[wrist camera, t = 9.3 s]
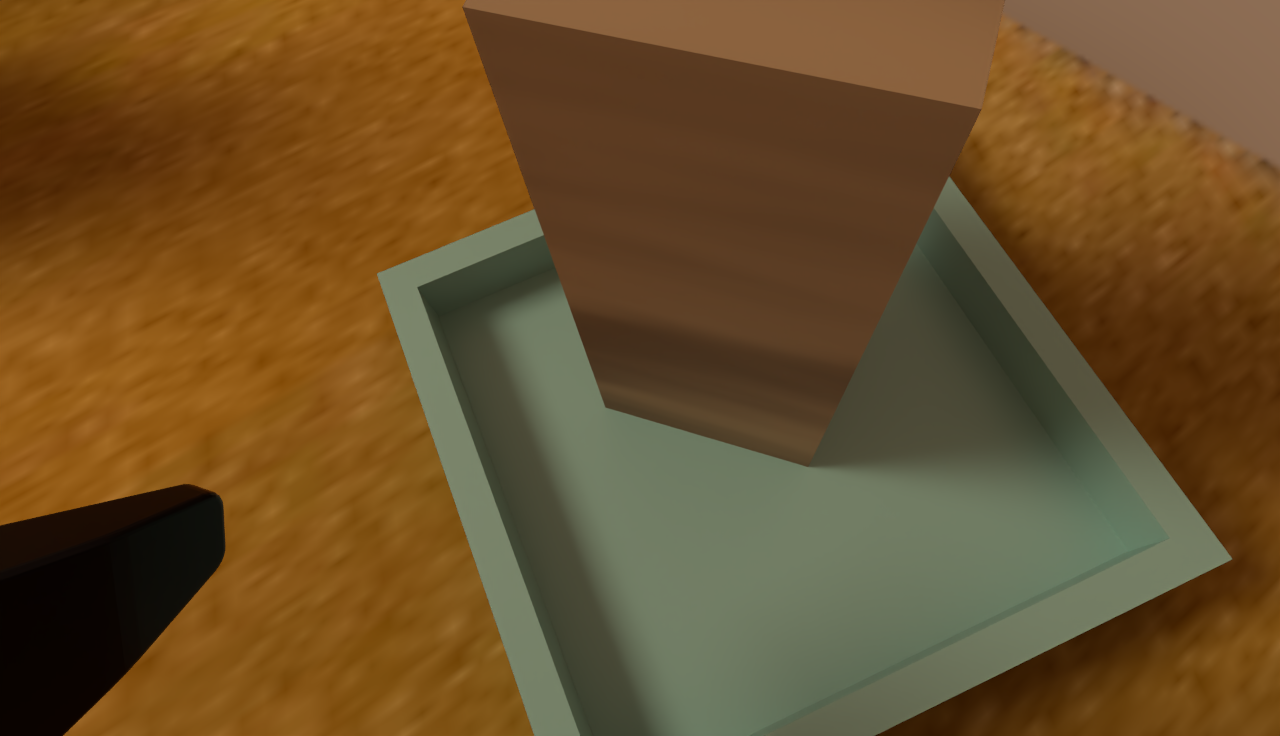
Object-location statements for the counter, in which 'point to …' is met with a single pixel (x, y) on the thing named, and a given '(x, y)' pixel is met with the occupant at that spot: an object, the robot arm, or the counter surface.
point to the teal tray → (788, 504)
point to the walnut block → (734, 186)
